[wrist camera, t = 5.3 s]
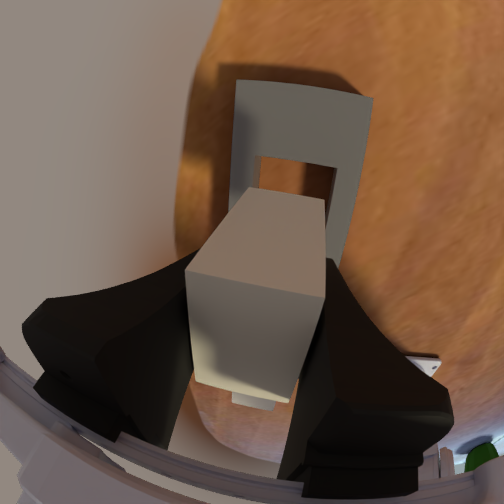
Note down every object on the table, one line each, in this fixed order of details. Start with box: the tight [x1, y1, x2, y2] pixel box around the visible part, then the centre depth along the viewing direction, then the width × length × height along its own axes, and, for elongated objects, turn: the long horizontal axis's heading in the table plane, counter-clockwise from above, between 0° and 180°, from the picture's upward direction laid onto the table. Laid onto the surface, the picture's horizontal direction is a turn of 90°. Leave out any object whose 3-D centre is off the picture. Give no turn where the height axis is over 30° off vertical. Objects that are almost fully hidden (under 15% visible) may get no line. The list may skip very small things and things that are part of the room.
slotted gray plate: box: [228, 80, 373, 411], centre depth 16 cm, size 22×7×7 cm, turn 175°
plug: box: [185, 187, 326, 403], centre depth 9 cm, size 4×3×6 cm
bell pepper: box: [464, 443, 499, 473], centre depth 27 cm, size 8×8×10 cm
